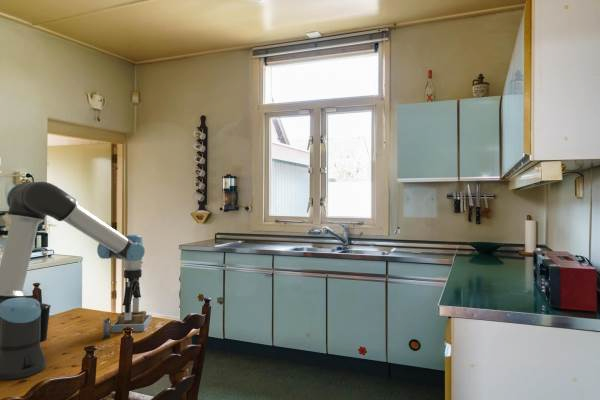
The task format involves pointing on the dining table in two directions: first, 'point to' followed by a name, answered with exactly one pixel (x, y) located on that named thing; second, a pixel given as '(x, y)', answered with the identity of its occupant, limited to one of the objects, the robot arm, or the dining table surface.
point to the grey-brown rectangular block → (132, 318)
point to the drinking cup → (43, 319)
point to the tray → (132, 325)
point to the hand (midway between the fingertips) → (131, 315)
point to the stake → (107, 328)
